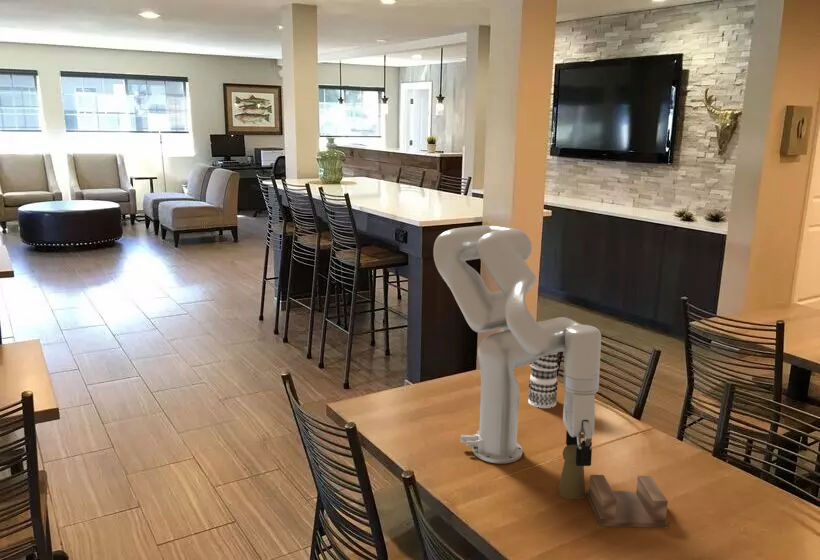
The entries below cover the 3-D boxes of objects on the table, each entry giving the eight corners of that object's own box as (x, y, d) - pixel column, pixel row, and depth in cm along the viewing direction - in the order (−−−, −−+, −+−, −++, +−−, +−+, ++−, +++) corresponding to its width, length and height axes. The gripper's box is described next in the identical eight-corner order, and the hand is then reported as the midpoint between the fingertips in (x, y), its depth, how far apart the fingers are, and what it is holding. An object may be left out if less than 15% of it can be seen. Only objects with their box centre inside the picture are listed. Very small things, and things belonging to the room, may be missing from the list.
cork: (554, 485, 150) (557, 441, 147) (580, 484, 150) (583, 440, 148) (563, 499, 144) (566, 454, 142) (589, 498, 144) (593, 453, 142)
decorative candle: (560, 409, 191) (566, 328, 186) (529, 408, 191) (534, 327, 186) (554, 396, 200) (559, 319, 195) (524, 396, 200) (528, 318, 195)
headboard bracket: (600, 525, 134) (602, 502, 133) (586, 494, 146) (587, 472, 145) (668, 527, 134) (670, 503, 133) (648, 495, 146) (651, 473, 145)
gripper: (555, 368, 150) (553, 438, 153) (572, 396, 133) (569, 473, 136) (588, 368, 149) (585, 438, 153) (609, 396, 132) (605, 473, 136)
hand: (578, 454), depth 144 cm, fingers open, 9 cm apart
